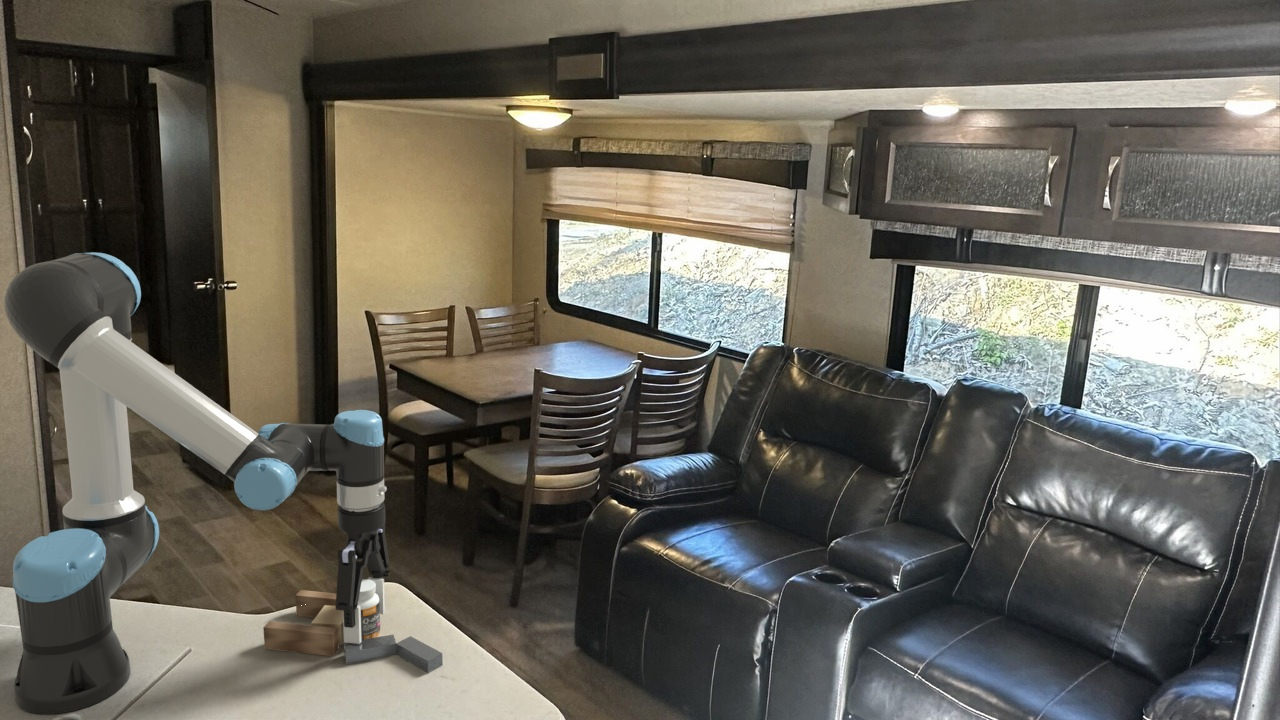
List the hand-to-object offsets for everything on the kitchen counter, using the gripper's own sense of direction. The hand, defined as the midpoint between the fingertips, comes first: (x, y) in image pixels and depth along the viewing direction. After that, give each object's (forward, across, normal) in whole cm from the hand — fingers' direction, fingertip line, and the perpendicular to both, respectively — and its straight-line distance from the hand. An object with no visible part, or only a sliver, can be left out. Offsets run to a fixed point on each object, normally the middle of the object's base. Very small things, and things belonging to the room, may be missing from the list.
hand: (365, 626), depth 155 cm
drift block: (+3, 0, +6) cm, 6 cm away
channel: (+2, +1, +9) cm, 9 cm away
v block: (+2, -4, -7) cm, 9 cm away
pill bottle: (+3, 0, +1) cm, 3 cm away
